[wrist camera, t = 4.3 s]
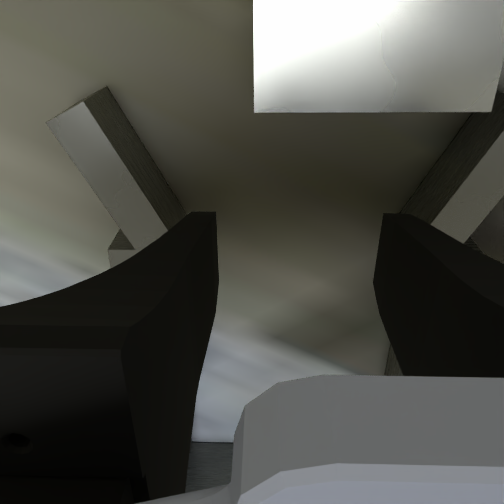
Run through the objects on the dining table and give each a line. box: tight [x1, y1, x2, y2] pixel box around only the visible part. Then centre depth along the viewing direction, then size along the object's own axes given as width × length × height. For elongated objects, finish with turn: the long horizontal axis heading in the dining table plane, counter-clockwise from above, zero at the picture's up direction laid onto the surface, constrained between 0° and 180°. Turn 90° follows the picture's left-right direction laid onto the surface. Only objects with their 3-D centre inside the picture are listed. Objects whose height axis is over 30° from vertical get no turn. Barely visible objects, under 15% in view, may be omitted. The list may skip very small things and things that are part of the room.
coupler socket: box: [46, 86, 504, 493], centre depth 16 cm, size 13×17×4 cm
